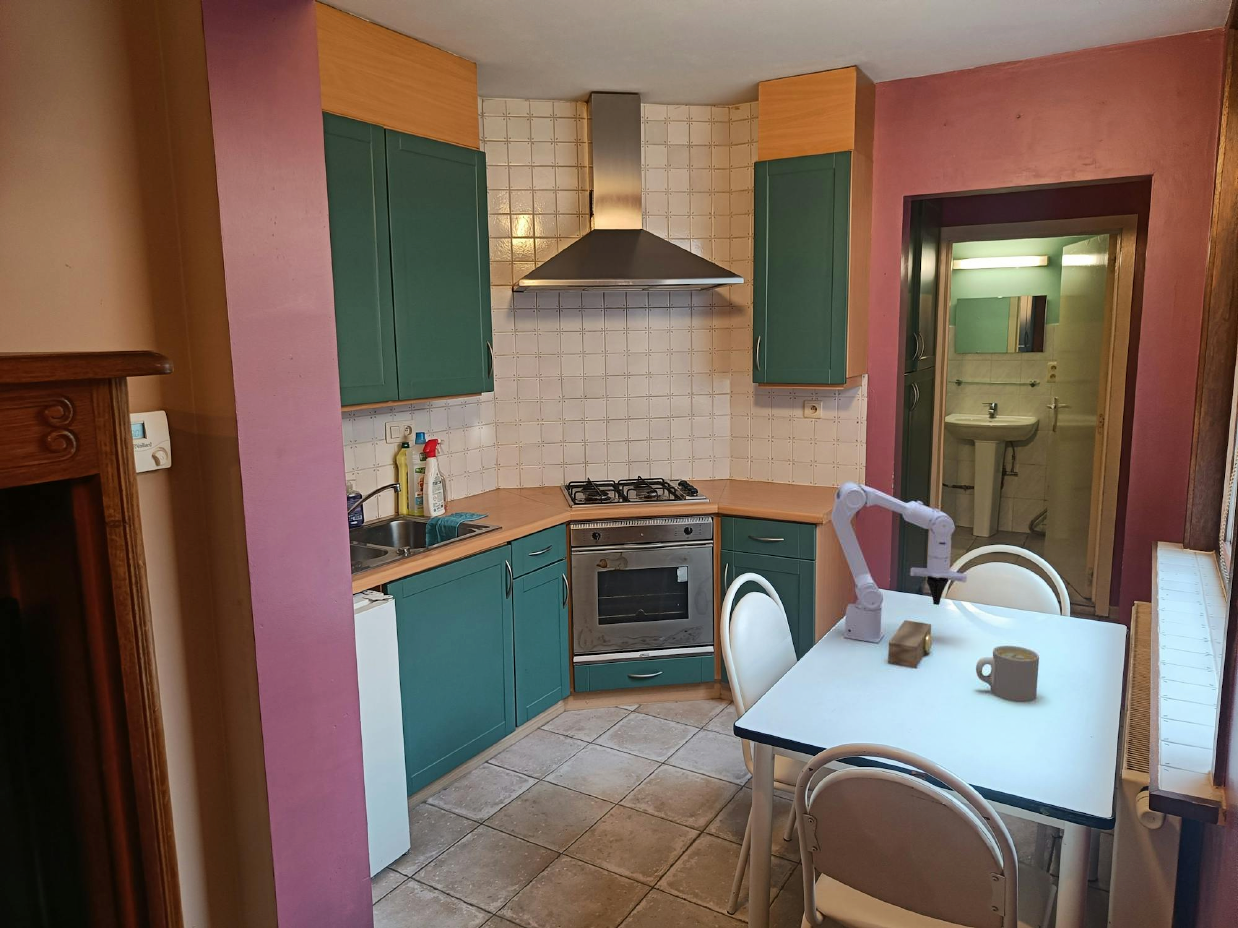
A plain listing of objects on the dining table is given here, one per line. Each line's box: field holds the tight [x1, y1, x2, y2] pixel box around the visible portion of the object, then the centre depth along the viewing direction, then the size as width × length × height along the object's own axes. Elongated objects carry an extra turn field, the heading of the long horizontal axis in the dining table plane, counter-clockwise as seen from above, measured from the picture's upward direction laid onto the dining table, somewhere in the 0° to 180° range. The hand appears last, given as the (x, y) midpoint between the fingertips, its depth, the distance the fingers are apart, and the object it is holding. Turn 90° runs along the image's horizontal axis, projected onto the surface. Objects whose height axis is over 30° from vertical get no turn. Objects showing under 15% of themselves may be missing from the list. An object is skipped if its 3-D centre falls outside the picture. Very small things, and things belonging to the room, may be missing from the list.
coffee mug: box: [975, 645, 1040, 703], centre depth 206 cm, size 13×10×10 cm
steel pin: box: [893, 633, 933, 654], centre depth 233 cm, size 9×5×5 cm, turn 61°
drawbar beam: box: [887, 619, 932, 669], centre depth 232 cm, size 7×20×6 cm, turn 151°
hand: (936, 603), depth 241 cm, fingers closed
